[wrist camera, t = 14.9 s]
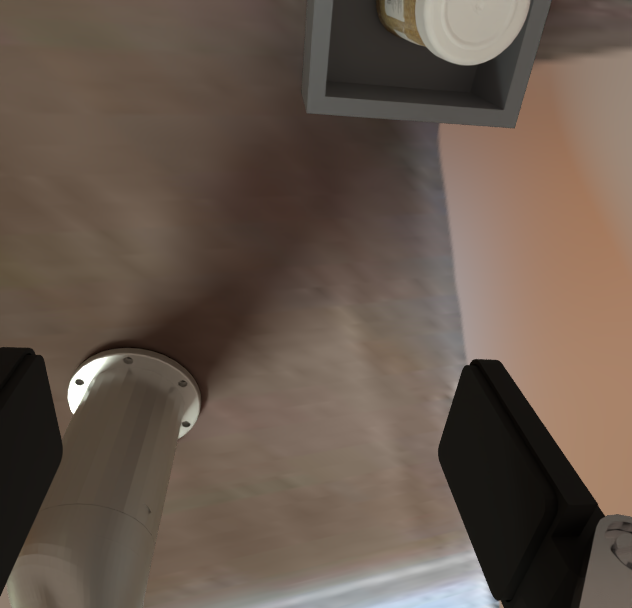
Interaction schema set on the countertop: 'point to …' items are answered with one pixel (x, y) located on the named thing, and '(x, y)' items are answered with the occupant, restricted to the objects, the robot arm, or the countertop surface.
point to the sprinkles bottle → (456, 26)
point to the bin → (409, 70)
